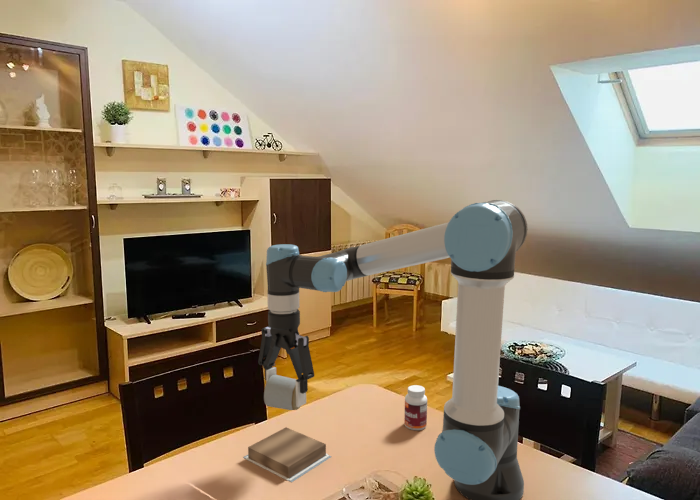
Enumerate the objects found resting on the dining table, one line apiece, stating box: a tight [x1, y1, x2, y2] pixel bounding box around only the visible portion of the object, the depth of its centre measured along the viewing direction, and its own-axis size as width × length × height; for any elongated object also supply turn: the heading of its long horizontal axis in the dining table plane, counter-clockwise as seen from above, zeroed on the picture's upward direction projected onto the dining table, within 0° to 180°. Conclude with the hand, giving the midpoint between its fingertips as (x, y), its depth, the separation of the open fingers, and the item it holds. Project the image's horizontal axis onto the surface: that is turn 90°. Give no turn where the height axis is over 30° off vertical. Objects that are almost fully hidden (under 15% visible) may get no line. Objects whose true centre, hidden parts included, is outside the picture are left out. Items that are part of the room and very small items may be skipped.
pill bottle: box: [403, 384, 428, 431], centre depth 148 cm, size 6×6×11 cm
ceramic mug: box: [263, 374, 302, 411], centre depth 131 cm, size 11×8×8 cm
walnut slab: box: [247, 426, 327, 478], centre depth 132 cm, size 14×13×3 cm
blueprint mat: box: [242, 452, 332, 483], centre depth 133 cm, size 17×14×1 cm
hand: (286, 399), depth 130 cm, fingers closed on ceramic mug, 9 cm apart
